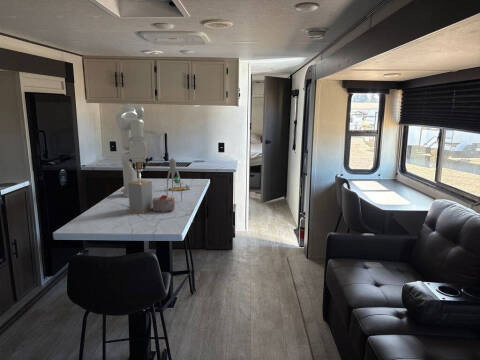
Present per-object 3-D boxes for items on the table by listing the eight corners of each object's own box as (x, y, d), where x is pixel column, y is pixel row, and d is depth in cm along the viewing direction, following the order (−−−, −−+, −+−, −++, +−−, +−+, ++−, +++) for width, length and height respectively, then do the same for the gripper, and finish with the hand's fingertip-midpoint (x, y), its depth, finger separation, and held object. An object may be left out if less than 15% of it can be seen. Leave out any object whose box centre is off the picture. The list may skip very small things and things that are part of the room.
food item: (175, 208, 230) (175, 193, 228) (175, 212, 222) (174, 196, 220) (153, 209, 228) (153, 194, 226) (152, 212, 220) (151, 197, 218)
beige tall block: (127, 211, 223) (125, 183, 219) (140, 206, 234) (138, 179, 230) (143, 213, 218) (141, 184, 215) (155, 208, 229) (153, 181, 225)
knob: (131, 202, 223) (129, 162, 218) (140, 199, 230) (137, 160, 225) (141, 203, 220) (139, 163, 215) (150, 200, 227) (148, 161, 222)
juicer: (179, 203, 242) (178, 159, 236) (166, 202, 244) (165, 158, 238) (184, 199, 252) (183, 156, 246) (172, 198, 254) (171, 156, 248)
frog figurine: (188, 191, 275) (185, 173, 272) (166, 193, 278) (163, 174, 275) (192, 188, 284) (189, 170, 281) (170, 190, 287) (167, 172, 285)
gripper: (123, 140, 211) (125, 171, 214) (152, 139, 217) (154, 169, 220) (122, 139, 218) (124, 169, 221) (151, 138, 223) (152, 167, 227)
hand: (139, 168), depth 221 cm, fingers closed on knob, 5 cm apart
